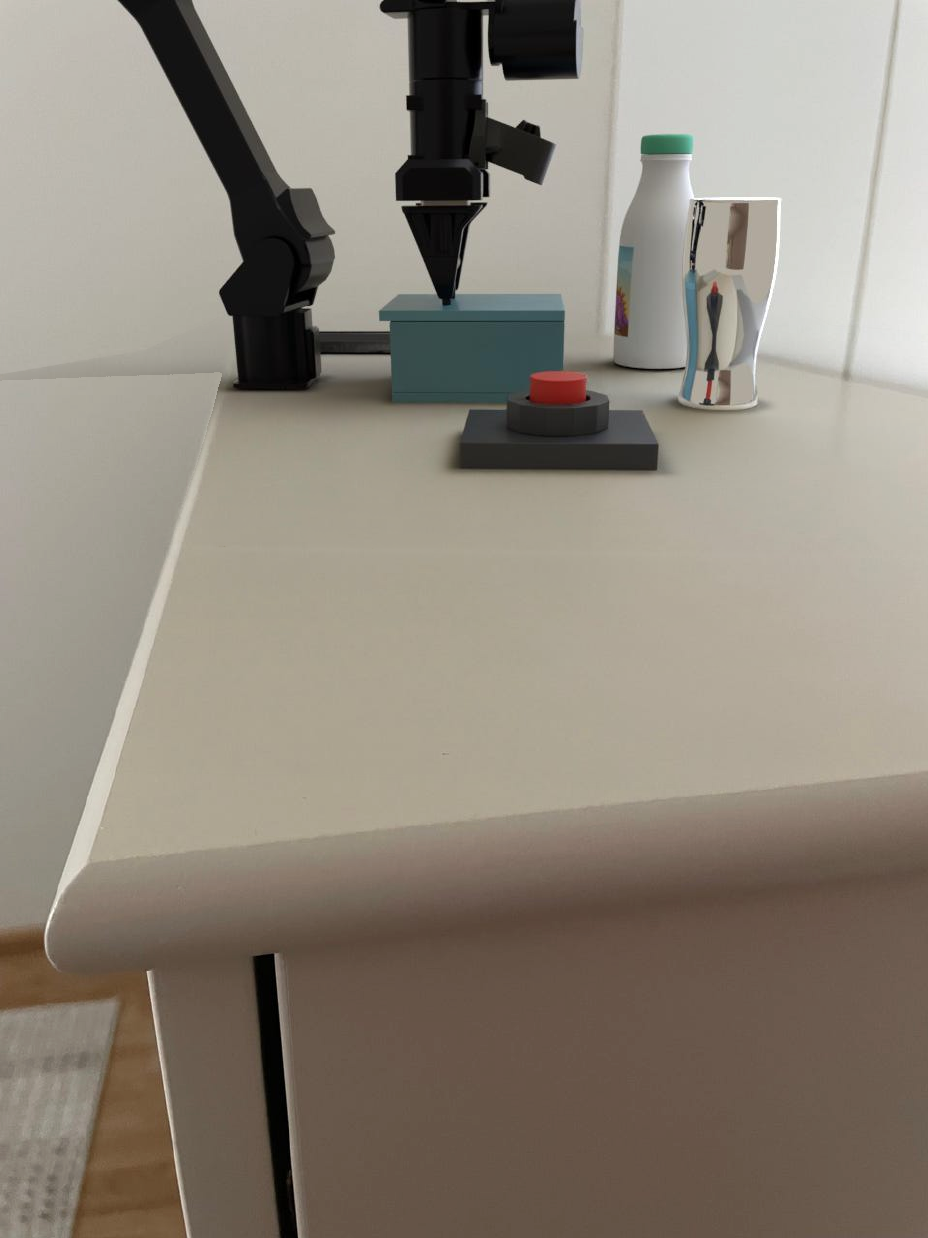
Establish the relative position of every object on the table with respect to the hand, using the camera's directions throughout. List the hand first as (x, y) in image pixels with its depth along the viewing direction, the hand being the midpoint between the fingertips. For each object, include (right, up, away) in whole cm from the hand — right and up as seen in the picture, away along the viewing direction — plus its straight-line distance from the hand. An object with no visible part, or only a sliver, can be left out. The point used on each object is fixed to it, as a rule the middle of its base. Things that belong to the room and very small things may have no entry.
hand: (448, 294), depth 86 cm
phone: (-10, +2, +25) cm, 27 cm away
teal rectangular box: (+3, -7, +3) cm, 8 cm away
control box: (+7, -16, -18) cm, 25 cm away
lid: (+2, -1, 0) cm, 3 cm away
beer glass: (+21, -10, -4) cm, 24 cm away
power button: (+7, -13, -19) cm, 24 cm away
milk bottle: (+19, -3, +14) cm, 24 cm away
